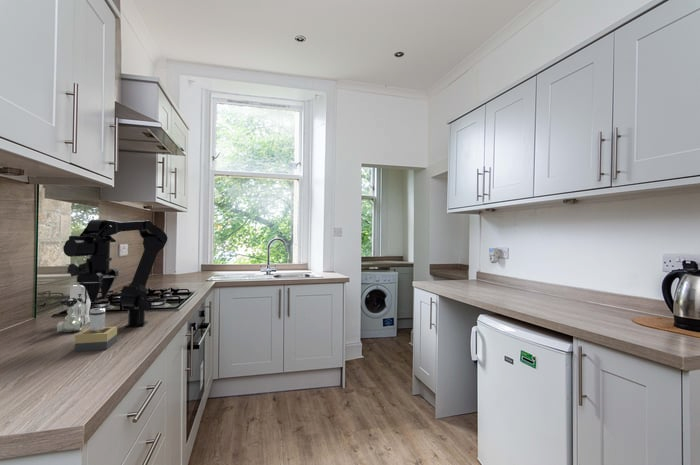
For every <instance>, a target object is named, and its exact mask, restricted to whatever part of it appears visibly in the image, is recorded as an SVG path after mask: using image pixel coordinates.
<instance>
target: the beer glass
mask: <svg viewBox="0 0 700 465" xmlns="http://www.w3.org/2000/svg"><path fill="white" fill-rule="evenodd" d="M72 298H75V299H77V298H81V299H82V302H79V301H77V303H76V304H75V305H74V306H73V307H72V309H74V313H72V314H73V315H74V316H76V317H75V319H74V321H80V320H81V321H82V322H83V325H86V324H90V309H91V305H92V304H91V303H92V302H91V301H90V299H89V296H88V293H87V290H86V288H85V287H84V286H82V285H80V284H76V285H72V286H71V285H70V291H69V299H72Z"/></svg>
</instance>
